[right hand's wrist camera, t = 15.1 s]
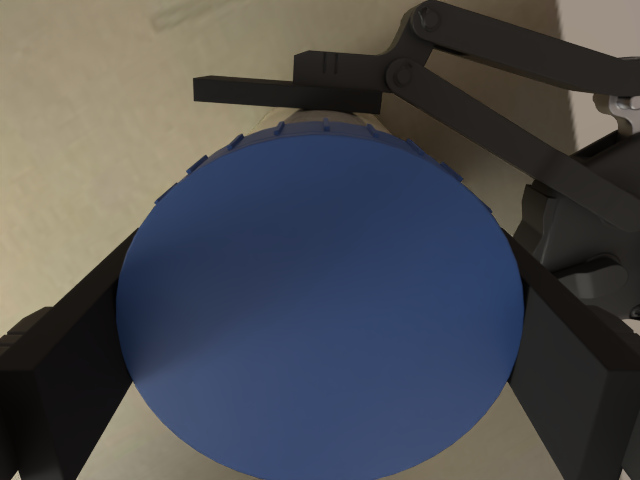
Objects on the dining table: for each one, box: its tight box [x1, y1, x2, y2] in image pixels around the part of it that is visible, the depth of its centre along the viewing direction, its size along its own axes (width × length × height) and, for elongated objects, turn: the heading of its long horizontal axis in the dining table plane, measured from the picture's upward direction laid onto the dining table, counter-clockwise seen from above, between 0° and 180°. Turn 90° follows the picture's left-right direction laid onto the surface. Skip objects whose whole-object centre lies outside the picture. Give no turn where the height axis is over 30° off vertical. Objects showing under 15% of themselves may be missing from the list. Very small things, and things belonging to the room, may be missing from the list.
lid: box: [116, 118, 525, 480], centre depth 11 cm, size 9×9×2 cm
